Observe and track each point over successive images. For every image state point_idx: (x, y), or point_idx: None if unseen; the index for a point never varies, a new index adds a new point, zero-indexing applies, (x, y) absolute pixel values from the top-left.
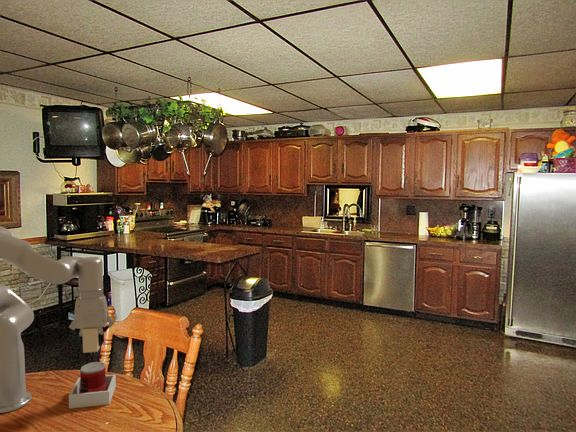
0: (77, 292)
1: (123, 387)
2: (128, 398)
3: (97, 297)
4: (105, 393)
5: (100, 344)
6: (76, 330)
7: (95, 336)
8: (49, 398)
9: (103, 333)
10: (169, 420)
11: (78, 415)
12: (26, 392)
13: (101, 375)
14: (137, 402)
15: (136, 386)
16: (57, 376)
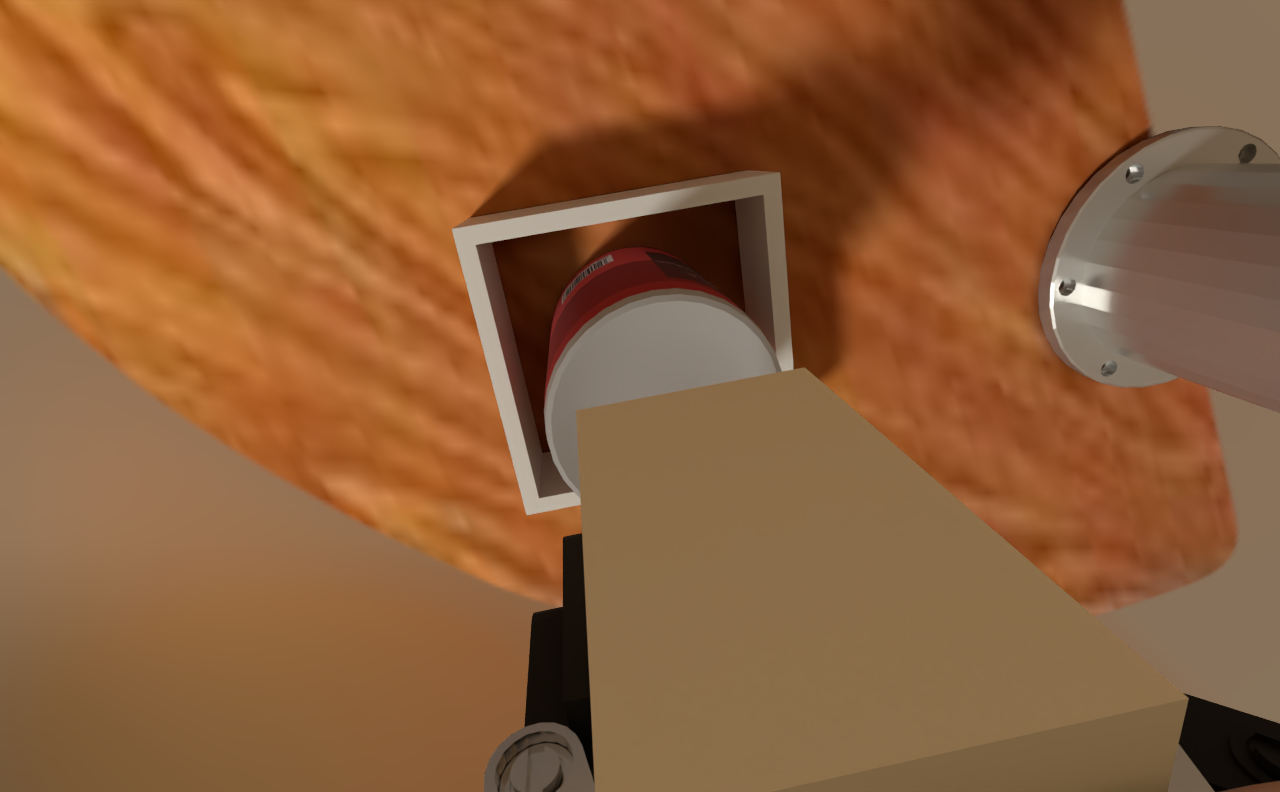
0: None
1: (468, 453)
2: (356, 299)
3: None
4: (484, 221)
5: (565, 550)
6: (1273, 749)
7: (630, 581)
8: (925, 317)
9: (491, 763)
10: None
11: (641, 63)
12: (1092, 361)
13: (554, 346)
14: (251, 236)
15: (376, 466)
16: None
